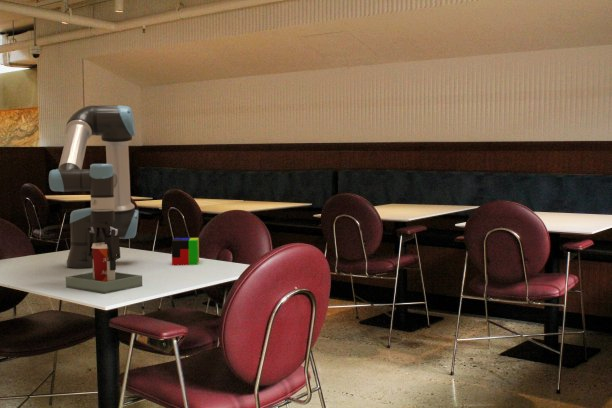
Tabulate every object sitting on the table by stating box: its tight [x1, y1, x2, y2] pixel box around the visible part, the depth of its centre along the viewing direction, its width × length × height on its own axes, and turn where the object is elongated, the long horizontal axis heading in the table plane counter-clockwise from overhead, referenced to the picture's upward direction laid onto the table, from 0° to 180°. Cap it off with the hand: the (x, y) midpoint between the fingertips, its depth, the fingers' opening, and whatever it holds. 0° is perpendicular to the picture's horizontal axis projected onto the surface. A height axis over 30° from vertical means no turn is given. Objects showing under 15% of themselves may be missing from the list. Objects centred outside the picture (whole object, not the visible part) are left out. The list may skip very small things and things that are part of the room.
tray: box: [65, 271, 143, 294], centre depth 228 cm, size 20×16×4 cm
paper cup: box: [91, 241, 113, 282], centre depth 227 cm, size 8×8×14 cm
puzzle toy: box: [171, 237, 200, 266], centre depth 278 cm, size 10×10×10 cm
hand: (104, 278), depth 228 cm, fingers closed on paper cup, 6 cm apart
